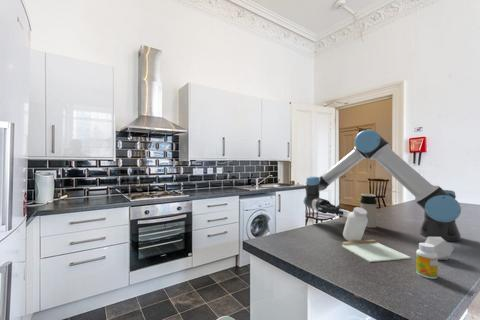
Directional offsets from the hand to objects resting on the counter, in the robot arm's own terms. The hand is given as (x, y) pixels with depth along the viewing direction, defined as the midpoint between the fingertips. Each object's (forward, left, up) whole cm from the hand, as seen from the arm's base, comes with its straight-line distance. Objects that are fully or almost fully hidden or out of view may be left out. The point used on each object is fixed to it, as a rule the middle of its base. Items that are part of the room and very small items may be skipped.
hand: (349, 214), depth 106 cm
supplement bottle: (-30, +14, -12) cm, 36 cm away
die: (-30, -6, -12) cm, 33 cm away
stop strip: (-5, +2, -12) cm, 13 cm away
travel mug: (+4, -34, -12) cm, 36 cm away
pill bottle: (-1, -1, -11) cm, 11 cm away
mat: (-12, +6, -12) cm, 18 cm away
